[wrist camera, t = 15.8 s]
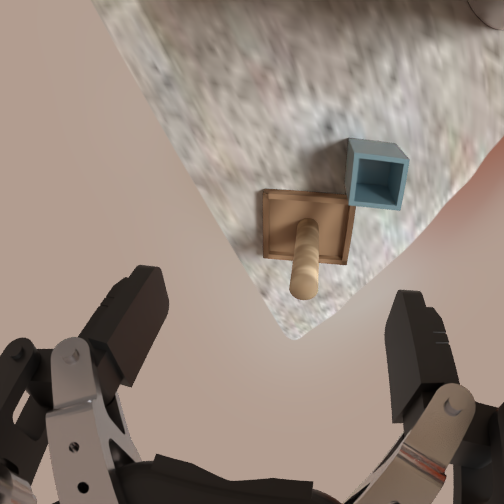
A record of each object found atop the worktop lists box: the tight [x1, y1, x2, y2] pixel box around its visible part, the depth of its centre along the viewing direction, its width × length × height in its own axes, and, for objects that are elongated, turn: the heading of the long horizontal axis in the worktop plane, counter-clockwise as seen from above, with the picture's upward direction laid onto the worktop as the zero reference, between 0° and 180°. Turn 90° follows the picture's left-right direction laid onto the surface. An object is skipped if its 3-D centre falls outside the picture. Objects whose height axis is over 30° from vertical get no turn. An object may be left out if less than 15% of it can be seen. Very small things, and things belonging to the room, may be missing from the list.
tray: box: [263, 189, 356, 265], centre depth 47 cm, size 13×11×2 cm
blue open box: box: [344, 138, 409, 211], centre depth 37 cm, size 7×7×7 cm
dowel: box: [289, 218, 319, 300], centre depth 41 cm, size 3×3×14 cm
